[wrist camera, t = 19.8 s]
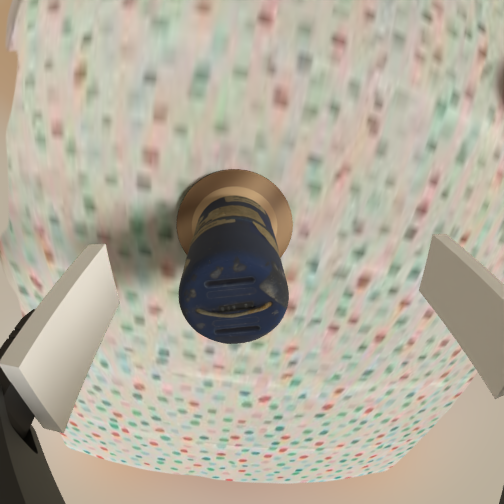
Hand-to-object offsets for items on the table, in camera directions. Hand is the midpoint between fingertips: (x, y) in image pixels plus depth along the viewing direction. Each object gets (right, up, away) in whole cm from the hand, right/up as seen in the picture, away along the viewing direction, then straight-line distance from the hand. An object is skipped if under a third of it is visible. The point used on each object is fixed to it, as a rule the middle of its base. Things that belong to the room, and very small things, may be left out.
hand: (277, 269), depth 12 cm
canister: (-3, +4, +29) cm, 30 cm away
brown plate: (-3, +4, +30) cm, 30 cm away
